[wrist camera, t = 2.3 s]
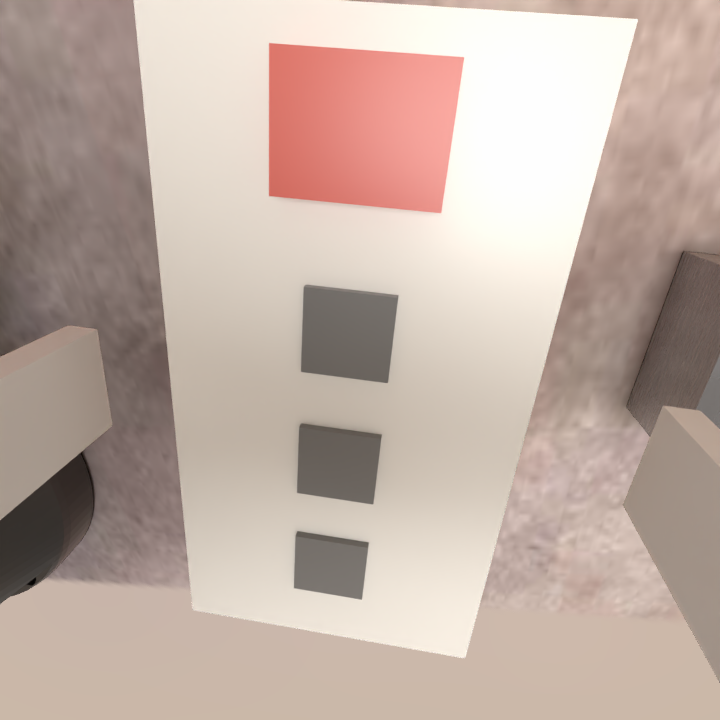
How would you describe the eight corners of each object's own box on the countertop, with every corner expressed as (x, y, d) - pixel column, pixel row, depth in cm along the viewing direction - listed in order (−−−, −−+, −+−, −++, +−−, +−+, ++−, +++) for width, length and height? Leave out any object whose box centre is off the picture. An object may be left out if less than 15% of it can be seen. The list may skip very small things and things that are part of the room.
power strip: (450, 481, 22) (466, 682, 13) (271, 455, 22) (182, 630, 14) (530, 87, 15) (657, 7, 7) (273, 68, 16) (107, -28, 8)
